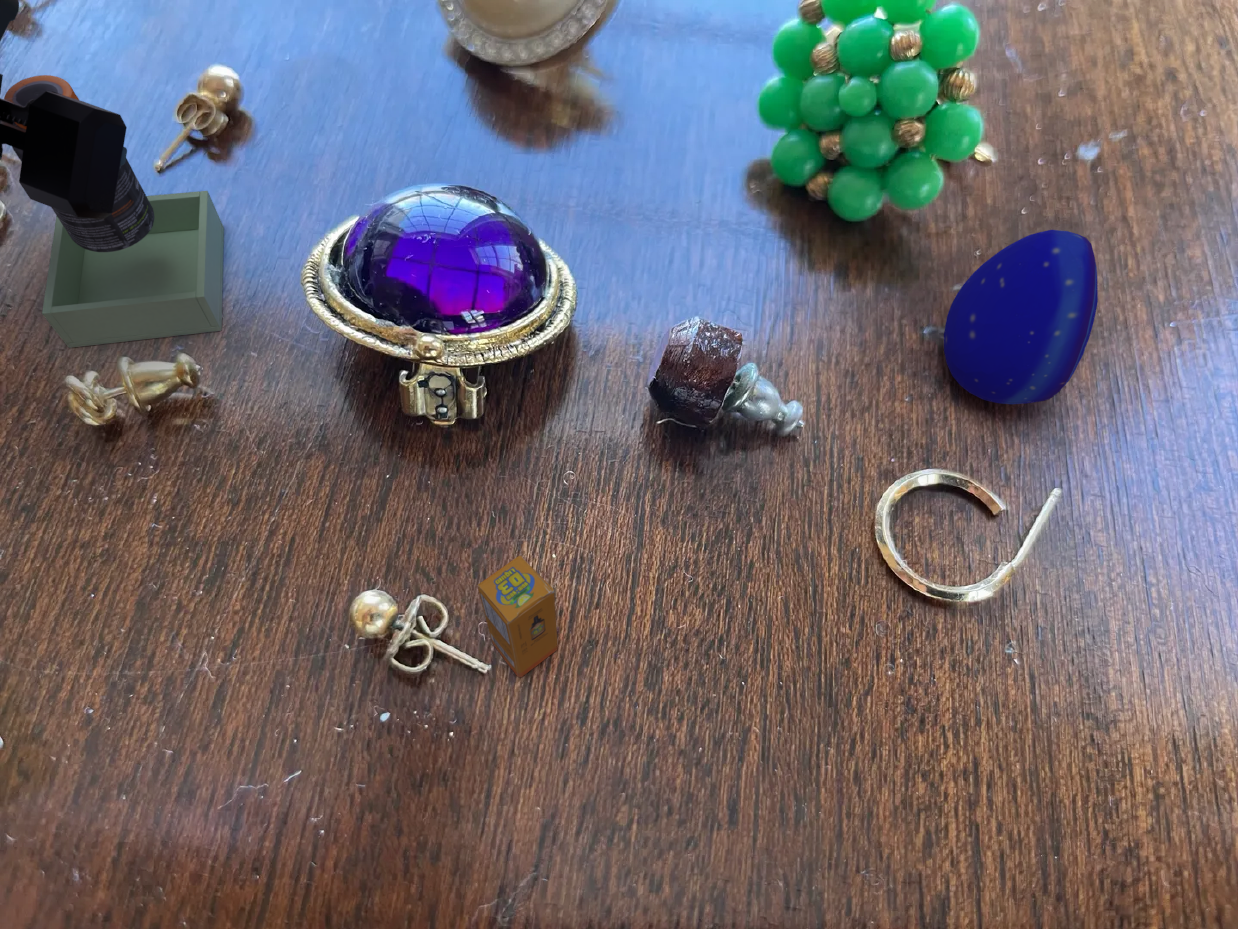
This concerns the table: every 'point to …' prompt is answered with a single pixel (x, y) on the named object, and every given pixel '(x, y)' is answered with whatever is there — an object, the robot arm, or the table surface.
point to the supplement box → (520, 615)
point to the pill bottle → (130, 199)
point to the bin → (141, 279)
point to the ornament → (1024, 319)
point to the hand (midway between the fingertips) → (85, 141)
